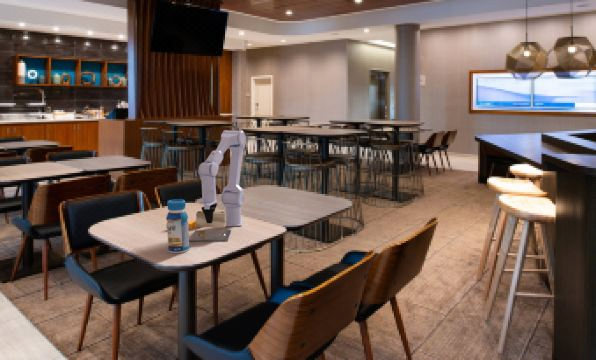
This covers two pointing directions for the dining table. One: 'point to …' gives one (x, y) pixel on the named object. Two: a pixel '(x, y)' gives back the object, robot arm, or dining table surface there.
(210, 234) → the bolt plate
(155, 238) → the dining table surface
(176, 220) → the beverage bottle
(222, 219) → the spacer bar
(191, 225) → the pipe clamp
